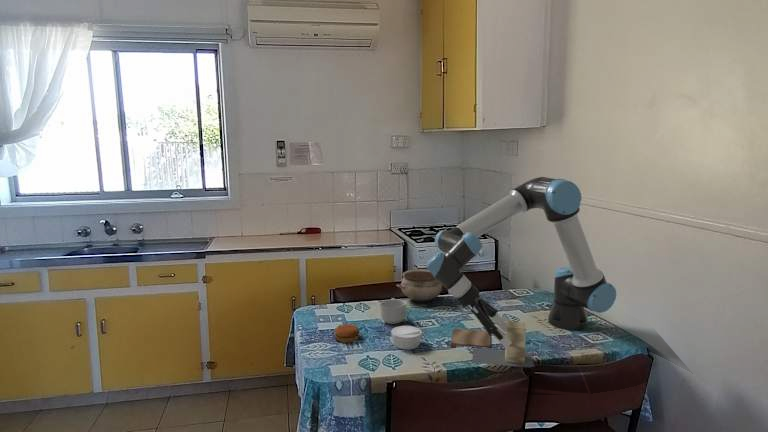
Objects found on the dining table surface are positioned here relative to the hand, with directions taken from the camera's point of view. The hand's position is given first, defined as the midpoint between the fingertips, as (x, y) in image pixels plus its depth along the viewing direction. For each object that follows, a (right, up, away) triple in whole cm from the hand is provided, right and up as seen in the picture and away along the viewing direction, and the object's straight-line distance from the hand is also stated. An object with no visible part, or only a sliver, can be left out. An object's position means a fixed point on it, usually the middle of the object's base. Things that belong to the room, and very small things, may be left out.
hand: (508, 337), depth 174 cm
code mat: (-1, -8, +2) cm, 9 cm away
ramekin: (-33, -7, +15) cm, 37 cm away
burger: (-56, -6, +22) cm, 60 cm away
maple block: (+3, -8, +1) cm, 8 cm away
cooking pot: (-24, +2, +66) cm, 70 cm away
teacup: (-38, -3, +40) cm, 55 cm away
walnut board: (-9, -6, +19) cm, 22 cm away
